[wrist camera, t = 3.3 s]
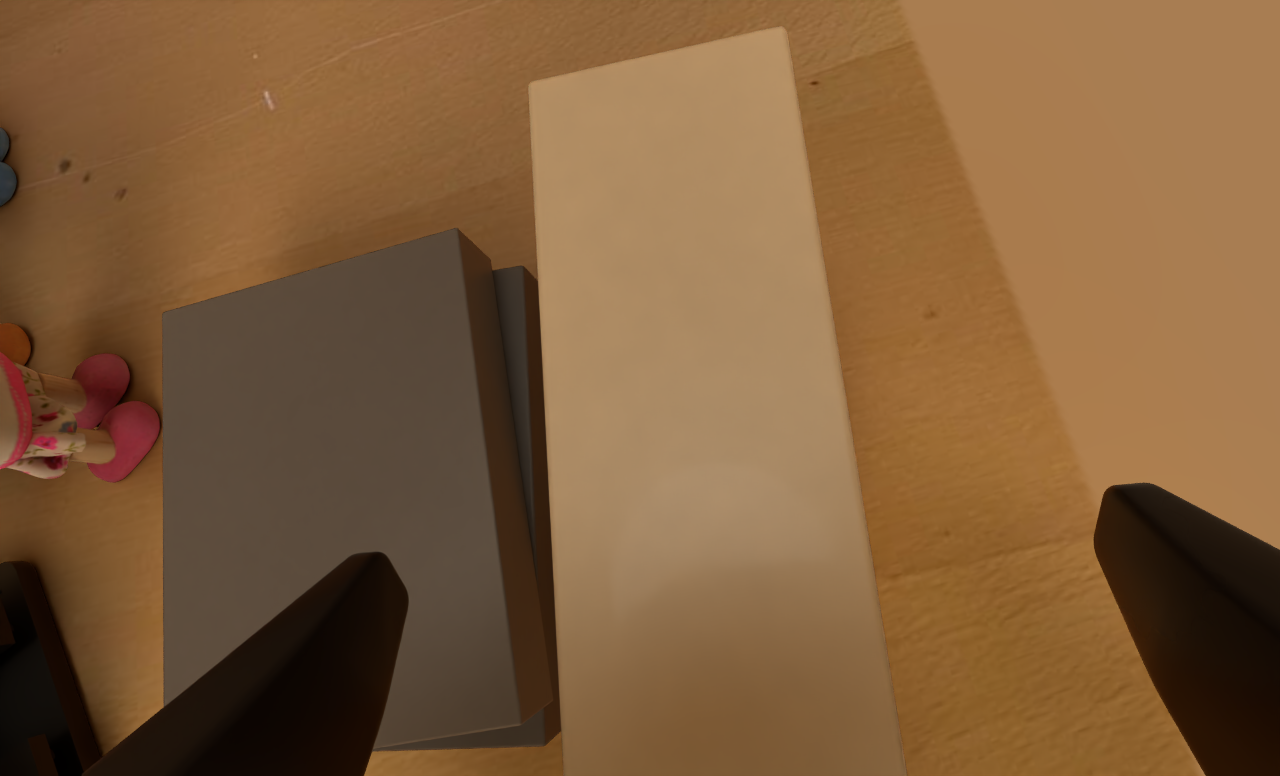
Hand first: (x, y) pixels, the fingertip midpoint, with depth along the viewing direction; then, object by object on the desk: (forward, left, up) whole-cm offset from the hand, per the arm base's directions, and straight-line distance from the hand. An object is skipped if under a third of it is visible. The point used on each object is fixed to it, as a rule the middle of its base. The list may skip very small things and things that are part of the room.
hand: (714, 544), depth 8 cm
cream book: (+1, -1, -9) cm, 9 cm away
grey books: (+6, +8, -9) cm, 13 cm away
